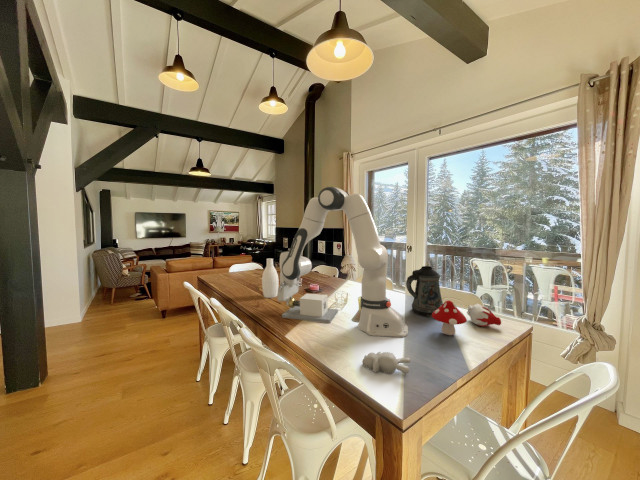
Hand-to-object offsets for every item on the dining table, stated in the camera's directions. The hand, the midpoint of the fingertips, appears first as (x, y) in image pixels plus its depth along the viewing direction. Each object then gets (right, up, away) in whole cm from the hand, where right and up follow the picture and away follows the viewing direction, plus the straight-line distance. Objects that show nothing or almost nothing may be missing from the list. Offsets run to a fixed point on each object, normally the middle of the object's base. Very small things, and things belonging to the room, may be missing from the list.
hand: (288, 304), depth 140 cm
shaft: (+10, -2, -3) cm, 10 cm away
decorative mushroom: (+73, -6, -29) cm, 79 cm away
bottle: (-16, -3, +32) cm, 36 cm away
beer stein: (+75, -4, -2) cm, 75 cm away
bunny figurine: (+39, -8, -55) cm, 68 cm away
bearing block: (+12, -5, -4) cm, 13 cm away
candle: (+94, -5, -19) cm, 96 cm away
